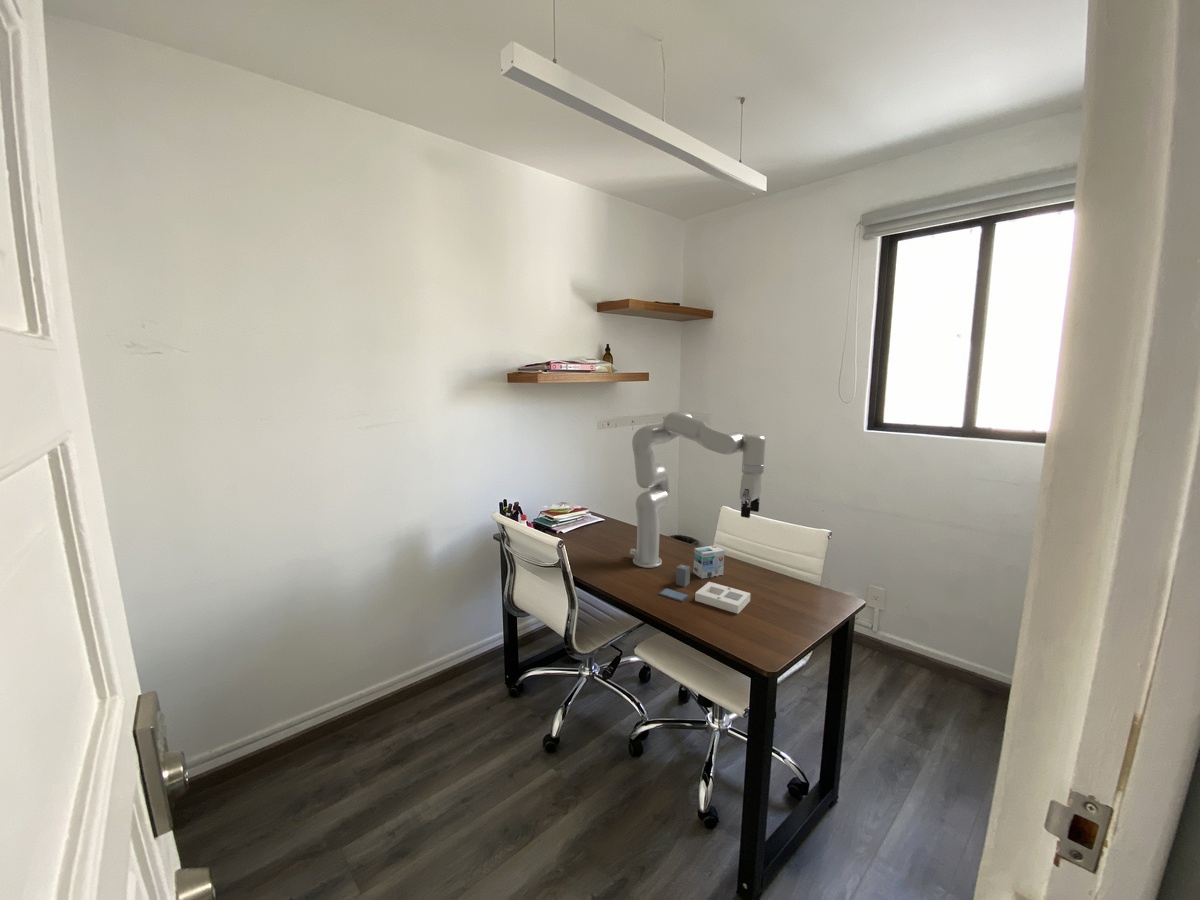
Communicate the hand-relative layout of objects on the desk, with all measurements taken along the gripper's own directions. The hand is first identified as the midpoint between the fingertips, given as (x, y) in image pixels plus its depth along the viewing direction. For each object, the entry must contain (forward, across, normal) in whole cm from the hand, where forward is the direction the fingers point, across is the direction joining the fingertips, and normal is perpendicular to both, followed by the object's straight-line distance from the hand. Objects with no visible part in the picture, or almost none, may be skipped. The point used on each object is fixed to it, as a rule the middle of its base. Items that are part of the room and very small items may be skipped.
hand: (749, 514), depth 177 cm
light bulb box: (+30, -6, -18) cm, 35 cm away
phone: (+31, +20, -20) cm, 42 cm away
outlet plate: (+30, +13, -4) cm, 33 cm away
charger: (+30, +9, -22) cm, 38 cm away
